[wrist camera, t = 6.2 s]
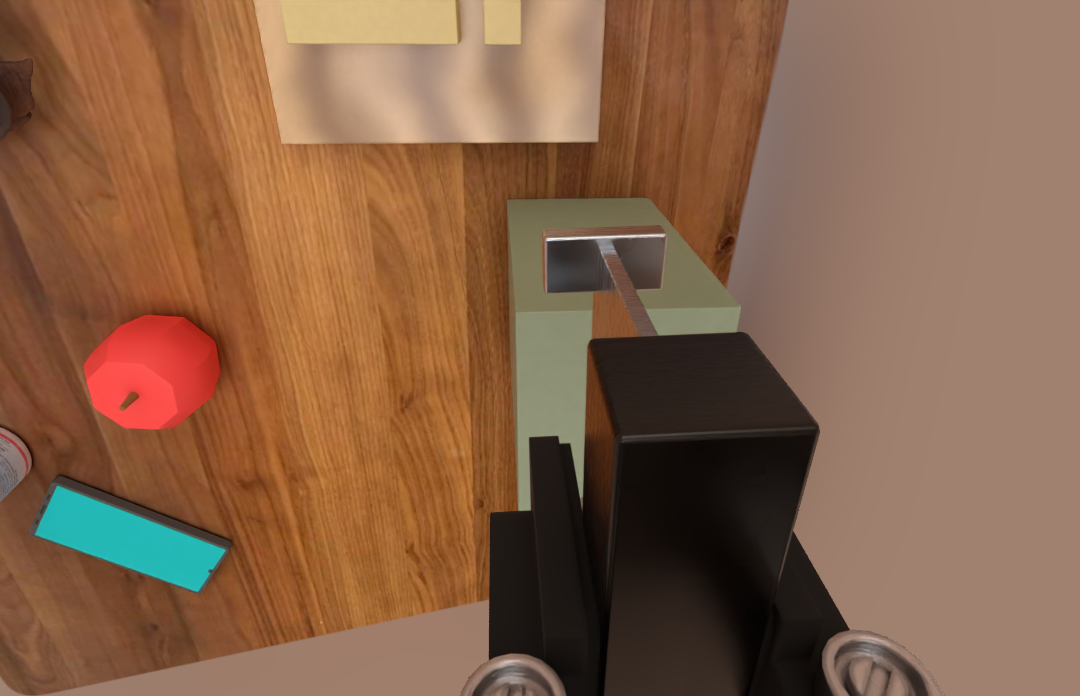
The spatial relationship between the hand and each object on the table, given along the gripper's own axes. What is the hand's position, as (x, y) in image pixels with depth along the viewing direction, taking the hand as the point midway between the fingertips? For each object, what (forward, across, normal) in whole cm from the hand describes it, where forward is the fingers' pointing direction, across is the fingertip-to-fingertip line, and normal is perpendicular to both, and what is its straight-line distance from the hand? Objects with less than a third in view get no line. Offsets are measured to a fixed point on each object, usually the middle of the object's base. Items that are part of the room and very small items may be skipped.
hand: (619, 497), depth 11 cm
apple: (+33, +27, +14) cm, 45 cm away
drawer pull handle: (+3, 0, 0) cm, 3 cm away
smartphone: (+33, +36, +33) cm, 59 cm away
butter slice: (+31, +2, -9) cm, 33 cm away
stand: (+33, -3, +10) cm, 34 cm away
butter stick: (+31, +8, -9) cm, 34 cm away
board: (+33, +6, -8) cm, 34 cm away
